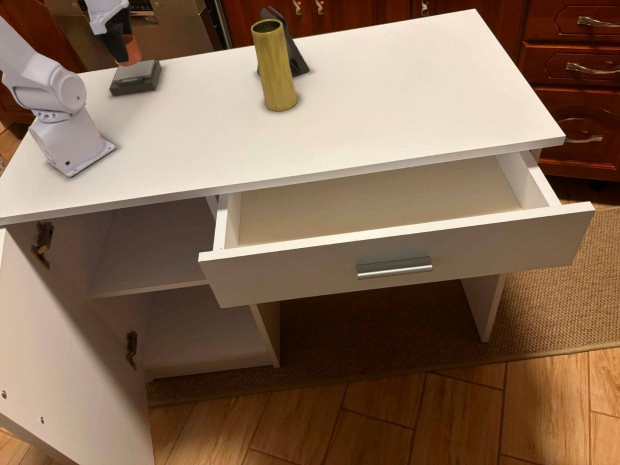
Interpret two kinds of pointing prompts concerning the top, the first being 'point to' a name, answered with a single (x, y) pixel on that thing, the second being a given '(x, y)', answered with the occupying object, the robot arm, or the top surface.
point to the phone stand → (287, 45)
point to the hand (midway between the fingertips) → (126, 54)
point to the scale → (136, 78)
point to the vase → (274, 65)
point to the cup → (131, 51)
